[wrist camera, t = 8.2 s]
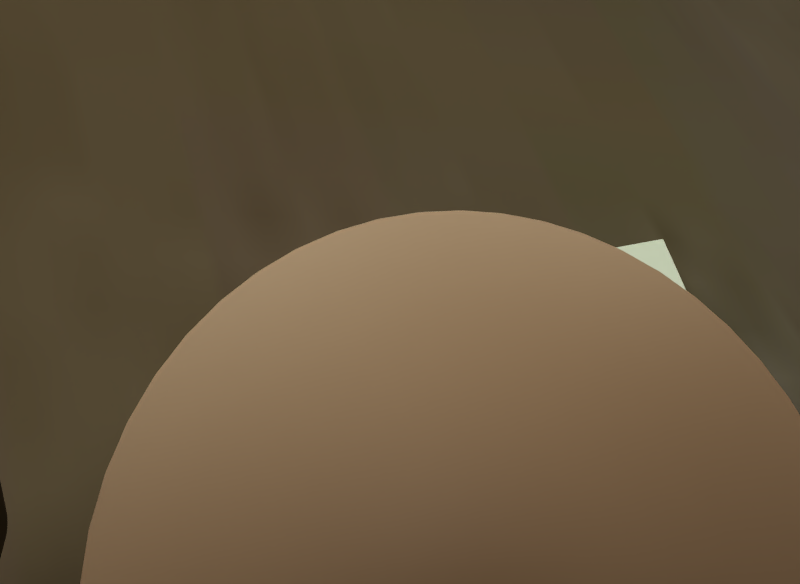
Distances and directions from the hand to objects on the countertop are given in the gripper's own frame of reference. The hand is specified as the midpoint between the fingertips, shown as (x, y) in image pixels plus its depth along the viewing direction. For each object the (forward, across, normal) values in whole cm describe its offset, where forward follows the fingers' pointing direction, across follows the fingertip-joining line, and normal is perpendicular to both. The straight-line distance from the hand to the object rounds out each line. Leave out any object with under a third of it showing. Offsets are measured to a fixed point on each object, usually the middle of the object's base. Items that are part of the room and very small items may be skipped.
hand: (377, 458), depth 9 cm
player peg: (+4, 0, +6) cm, 8 cm away
